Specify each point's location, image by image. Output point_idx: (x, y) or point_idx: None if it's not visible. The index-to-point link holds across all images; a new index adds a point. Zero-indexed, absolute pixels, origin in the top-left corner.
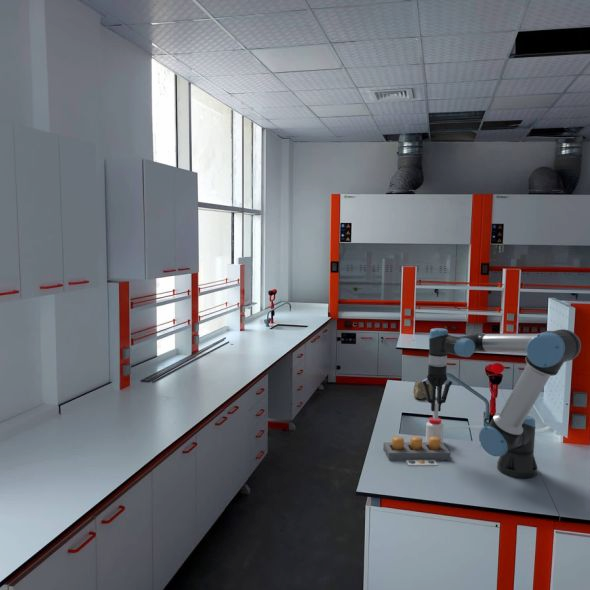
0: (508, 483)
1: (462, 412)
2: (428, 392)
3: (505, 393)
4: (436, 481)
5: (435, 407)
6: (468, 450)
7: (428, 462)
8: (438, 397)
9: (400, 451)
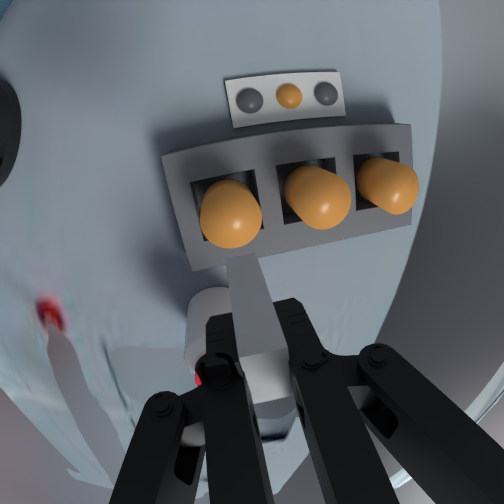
0: (22, 30)
1: None
2: (466, 453)
3: (109, 483)
4: None
5: (273, 321)
6: (99, 264)
7: (261, 94)
8: (258, 453)
9: (374, 140)
